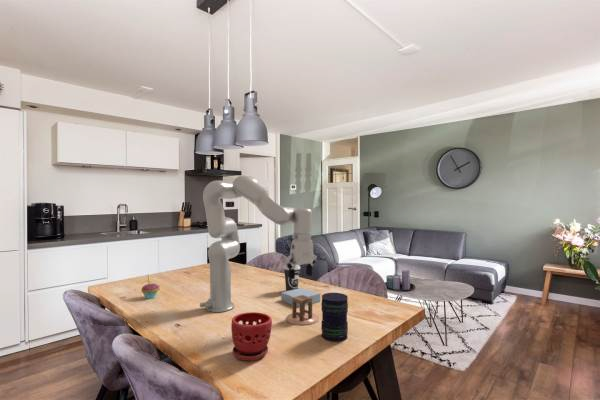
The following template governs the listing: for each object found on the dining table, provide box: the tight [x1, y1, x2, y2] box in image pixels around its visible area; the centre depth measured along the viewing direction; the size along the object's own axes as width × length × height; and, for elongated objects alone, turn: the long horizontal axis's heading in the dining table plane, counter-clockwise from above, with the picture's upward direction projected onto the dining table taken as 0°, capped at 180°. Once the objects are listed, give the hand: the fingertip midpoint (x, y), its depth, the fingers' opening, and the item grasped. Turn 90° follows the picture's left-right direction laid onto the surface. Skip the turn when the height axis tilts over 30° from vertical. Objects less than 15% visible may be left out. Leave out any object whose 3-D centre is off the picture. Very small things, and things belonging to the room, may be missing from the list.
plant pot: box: [230, 312, 273, 362], centre depth 104 cm, size 13×13×12 cm
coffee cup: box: [282, 263, 301, 292], centre depth 176 cm, size 10×10×15 cm
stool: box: [291, 295, 313, 322], centre depth 136 cm, size 6×6×9 cm
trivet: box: [285, 311, 319, 326], centre depth 136 cm, size 14×14×1 cm
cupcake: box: [141, 274, 160, 300], centre depth 165 cm, size 9×8×12 cm
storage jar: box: [320, 292, 349, 343], centre depth 118 cm, size 10×10×15 cm
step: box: [280, 287, 321, 308], centre depth 160 cm, size 14×14×4 cm
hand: (300, 276), depth 136 cm, fingers open, 9 cm apart
